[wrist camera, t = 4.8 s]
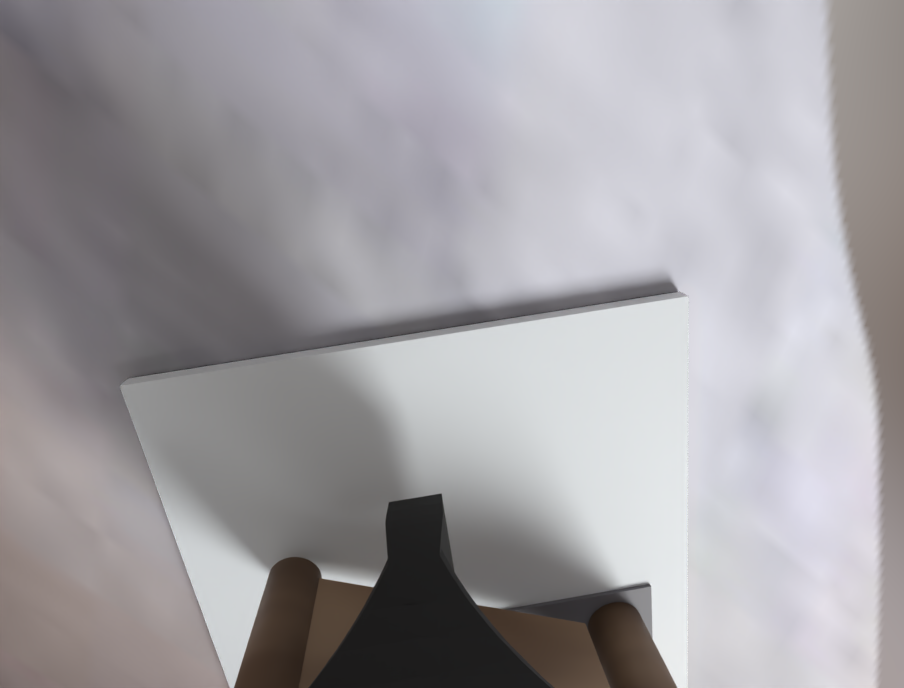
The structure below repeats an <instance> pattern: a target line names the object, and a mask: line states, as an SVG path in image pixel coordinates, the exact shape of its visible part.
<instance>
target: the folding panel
mask: <svg viewBox="0 0 904 688" xmlns="http://www.w3.org/2000/svg"><path fill="white" fill-rule="evenodd" d="M373 588H374V587H369V586H363V585H357V584H351V583H345V582H339V581H334V580H328V579H322V575H321V572H320V570H319V568H318V567H317V566H316V565H315V564H314V563H313V562H311V561H310V560H308V559H305V558H301V557H289V558H285V559H282V560H280V561H279V562H277V563H276V564H275V565H274V566H273V567H272V568H271V570H270V573H269V576H268V579H267V582H266V586H265V589H264V592H263V595H262V599H261V602H260V605H259V608H258V611H257V615H256V618H255V621H254V624H253V628H252V631H251V634H250V637H249V641H248V644H247V647H246V650H245V653H244V657H243V660H242V663H241V666H240V670H239V673H238V676H237V679H236V683H235V686H234V688H308V687H309V686H310V685H311V684H312V682H313V681H314V680H315V678H316V677H317V676H318V674H319V673H320V672H321V670H322V669H323V668H324V666H325V665H326V663H327V662H328V661H329V659H330V658H331V657H332V655H333V654H334V652H335V651H336V650H337V648H338V647H339V645H340V644H341V642H342V641H343V639H344V638H345V636H346V634H347V633H348V631H349V630H350V628H351V627H352V625H353V623H354V622H355V620H356V619H357V617H358V615H359V613H360V612H361V610H362V608H363V607H364V605H365V603H366V601H367V599H368V597H369V595H370V594H371V592H372V590H373ZM477 606H478V607H479V608H480V610H481V611H482V612H483V613H484V615H485V616H486V617H487V618H488V620H489V621H490V622H491V623H492V625H493V626H494V627H495V628H496V629H497V630H498V632H499V633H500V634H501V635H502V636H503V637H504V638H505V640H506V641H507V642H508V643H509V644H510V645H511V646H512V647H513V648H514V649H515V650H516V651H517V652H518V653H519V654H520V655H521V656H522V657H523V658H524V659H525V660H526V661H527V662H528V663H529V664H530V665H531V666H532V667H533V668H534V669H535V670H536V671H537V672H538V673H539V674H540V675H541V676H542V677H543V678H544V679H545V680H546V681H547V682H549V683H550V684H551V685H552V686H553V687H554V688H610V686H609V683H608V681H607V678H606V675H605V673H604V670H603V668H602V665H601V663H600V660H599V657H598V655H597V652H596V650H595V647H594V644H593V642H592V639H591V637H590V634H589V631H588V629H587V626H586V624H585V623H581V622H575V621H569V620H563V619H557V618H551V617H545V616H540V615H534V614H528V613H522V612H516V611H510V610H504V609H498V608H492V607H487V606H481V605H477Z"/></svg>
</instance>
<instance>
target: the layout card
mask: <svg viewBox="0 0 904 688" xmlns="http://www.w3.org/2000/svg"><path fill="white" fill-rule="evenodd" d="M688 310H689V296H687V295H685V294H683V293H681V292H674V293H668V294H662V295H655V296H649V297H643V298H636V299H630V300H624V301H617V302H611V303H605V304H598V305H592V306H586V307H579V308H573V309H567V310H560V311H554V312H547V313H541V314H535V315H528V316H522V317H516V318H509V319H503V320H497V321H490V322H484V323H478V324H471V325H465V326H459V327H452V328H446V329H439V330H433V331H427V332H420V333H414V334H408V335H401V336H395V337H389V338H382V339H376V340H370V341H363V342H357V343H351V344H344V345H338V346H332V347H325V348H319V349H312V350H306V351H300V352H293V353H287V354H281V355H274V356H268V357H262V358H255V359H249V360H243V361H236V362H230V363H224V364H217V365H211V366H205V367H198V368H192V369H185V370H179V371H173V372H166V373H160V374H154V375H147V376H141V377H135V378H128V379H127V380H126V381H125V382H123V383H122V384H121V385H120V389H121V392H122V395H123V397H124V400H125V403H126V406H127V408H128V411H129V414H130V417H131V419H132V422H133V425H134V427H135V430H136V433H137V436H138V438H139V441H140V444H141V447H142V449H143V452H144V455H145V458H146V460H147V463H148V466H149V468H150V471H151V474H152V477H153V479H154V482H155V485H156V488H157V490H158V493H159V496H160V499H161V501H162V504H163V507H164V509H165V512H166V515H167V518H168V520H169V523H170V526H171V529H172V531H173V534H174V537H175V540H176V542H177V545H178V548H179V550H180V553H181V556H182V559H183V561H184V564H185V567H186V570H187V572H188V575H189V578H190V581H191V583H192V586H193V589H194V591H195V594H196V597H197V600H198V602H199V605H200V608H201V611H202V613H203V616H204V619H205V622H206V624H207V627H208V630H209V632H210V635H211V638H212V641H213V643H214V646H215V649H216V652H217V654H218V657H219V660H220V663H221V665H222V668H223V671H224V673H225V676H226V679H227V682H228V684H229V687H230V688H234V686H235V683H236V679H237V676H238V673H239V670H240V666H241V663H242V660H243V657H244V653H245V650H246V647H247V644H248V641H249V637H250V634H251V631H252V628H253V624H254V621H255V618H256V615H257V611H258V608H259V605H260V602H261V599H262V595H263V592H264V589H265V586H266V582H267V579H268V576H269V573H270V570H271V568H272V567H273V566H274V565H275V564H276V563H277V562H279V561H280V560H282V559H285V558H289V557H301V558H305V559H308V560H310V561H311V562H313V563H314V564H315V565H316V566H317V567H318V568H319V570H320V572H321V575H322V579H328V580H334V581H339V582H345V583H351V584H357V585H363V586H369V587H374V586H375V584H376V582H377V580H378V578H379V576H380V574H381V572H382V570H383V568H384V566H385V564H386V561H387V559H388V556H387V542H386V527H385V521H386V514H387V509H388V504H389V502H392V501H398V500H404V499H411V498H417V497H423V496H429V495H435V494H441V493H442V499H443V505H444V511H445V517H446V523H447V529H448V535H449V541H450V548H451V554H452V560H453V566H454V572H455V574H456V575H457V577H458V578H459V580H460V581H461V583H462V584H463V586H464V587H465V589H466V590H467V592H468V593H469V595H470V596H471V598H472V599H473V600H474V602H475V603H476V604H477V605H481V606H487V607H492V608H498V609H504V610H510V611H516V612H522V613H528V614H534V615H540V616H545V617H551V618H557V619H563V620H569V621H575V622H581V623H585V624H586V626H587V629H588V623H589V620H590V618H591V616H592V615H593V614H594V612H595V611H597V610H598V609H599V608H601V607H602V606H604V605H606V604H609V603H614V602H624V603H628V604H630V605H632V606H634V607H635V608H636V609H637V610H638V611H639V613H640V615H641V617H642V619H643V621H644V623H645V625H646V627H647V629H648V631H649V633H650V635H651V637H652V639H653V641H654V643H655V645H656V647H657V649H658V651H659V653H660V655H661V657H662V658H663V660H664V662H665V664H666V666H667V668H668V670H669V672H670V674H671V676H672V678H673V680H674V682H675V684H676V686H677V688H687V644H688Z"/></svg>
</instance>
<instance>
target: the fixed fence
mask: <svg viewBox="0 0 904 688" xmlns="http://www.w3.org/2000/svg"><path fill="white" fill-rule="evenodd" d="M588 631H589V634H590V637H591V639H592V642H593V644H594V647H595V650H596V652H597V655H598V657H599V660H600V663H601V665H602V668H603V670H604V673H605V675H606V678H607V681H608V683H609V686H610V688H677V686H676V684H675V682H674V680H673V678H672V676H671V674H670V672H669V670H668V668H667V666H666V664H665V662H664V660H663V658H662V657H661V655H660V653H659V651H658V649H657V647H656V645H655V643H654V641H653V639H652V637H651V635H650V633H649V631H648V629H647V627H646V625H645V623H644V621H643V619H642V617H641V615H640V613H639V611H638V610H637V609H636V608H635V607H634V606H632V605H630V604H628V603H624V602H614V603H609V604H606V605H604V606H602V607H601V608H599V609H598V610H597V611H595V612H594V614H593V615H592V616H591V618H590V620H589V623H588Z"/></svg>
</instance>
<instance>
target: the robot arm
mask: <svg viewBox="0 0 904 688" xmlns="http://www.w3.org/2000/svg"><path fill="white" fill-rule="evenodd" d="M385 527H386V542H387V556H388V559H387V561H386V564H385V566H384V568H383V570H382V572H381V574H380V576H379V578H378V580H377V582H376V584H375V586H374V588H373V590H372V592H371V594H370V595H369V597H368V599H367V601H366V603H365V605H364V607H363V608H362V610H361V612H360V613H359V615H358V617H357V619H356V620H355V622H354V623H353V625H352V627H351V628H350V630H349V631H348V633H347V634H346V636H345V638H344V639H343V641H342V642H341V644H340V645H339V647H338V648H337V650H336V651H335V652H334V654H333V655H332V657H331V658H330V659H329V661H328V662H327V663H326V665H325V666H324V668H323V669H322V670H321V672H320V673H319V674H318V676H317V677H316V678H315V680H314V681H313V682H312V684H311V685H310V686H309V687H308V688H554V687H553V686H552V685H551V684H550V683H549V682H547V681H546V680H545V679H544V678H543V677H542V676H541V675H540V674H539V673H538V672H537V671H536V670H535V669H534V668H533V667H532V666H531V665H530V664H529V663H528V662H527V661H526V660H525V659H524V658H523V657H522V656H521V655H520V654H519V653H518V652H517V651H516V650H515V649H514V648H513V647H512V646H511V645H510V644H509V643H508V642H507V641H506V640H505V638H504V637H503V636H502V635H501V634H500V633H499V632H498V630H497V629H496V628H495V627H494V626H493V625H492V623H491V622H490V621H489V620H488V618H487V617H486V616H485V615H484V613H483V612H482V611H481V610H480V608H479V607H478V606H477V604H476V603H475V602H474V600H473V599H472V598H471V596H470V595H469V593H468V592H467V590H466V589H465V587H464V586H463V584H462V583H461V581H460V580H459V578H458V577H457V575H456V574H455V572H454V566H453V560H452V554H451V548H450V541H449V535H448V529H447V523H446V517H445V511H444V505H443V499H442V493H441V494H435V495H429V496H423V497H417V498H411V499H404V500H398V501H392V502H389V504H388V509H387V514H386V521H385Z"/></svg>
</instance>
